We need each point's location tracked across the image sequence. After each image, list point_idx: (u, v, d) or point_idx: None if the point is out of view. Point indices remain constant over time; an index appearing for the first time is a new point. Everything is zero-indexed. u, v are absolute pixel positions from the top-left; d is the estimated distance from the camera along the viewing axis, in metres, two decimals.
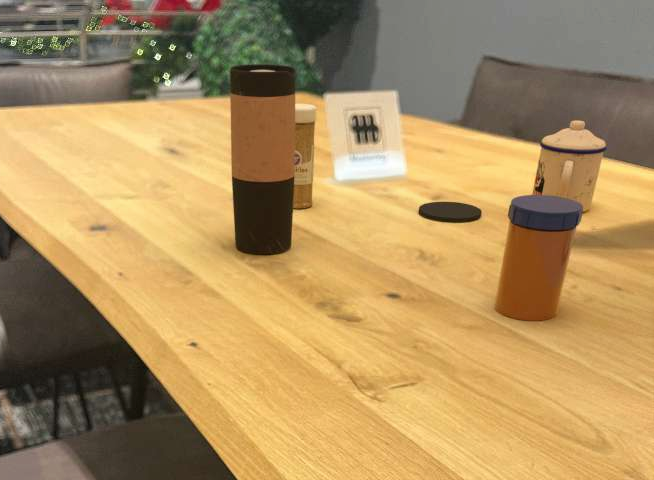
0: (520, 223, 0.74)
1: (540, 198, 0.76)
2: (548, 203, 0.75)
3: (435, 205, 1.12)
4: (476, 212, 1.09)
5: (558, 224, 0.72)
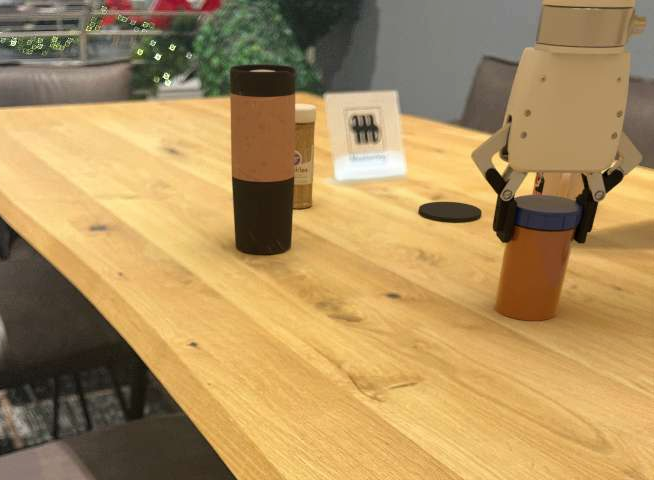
0: (520, 223, 0.74)
1: (540, 198, 0.76)
2: (548, 203, 0.75)
3: (435, 205, 1.12)
4: (476, 212, 1.09)
5: (558, 224, 0.72)
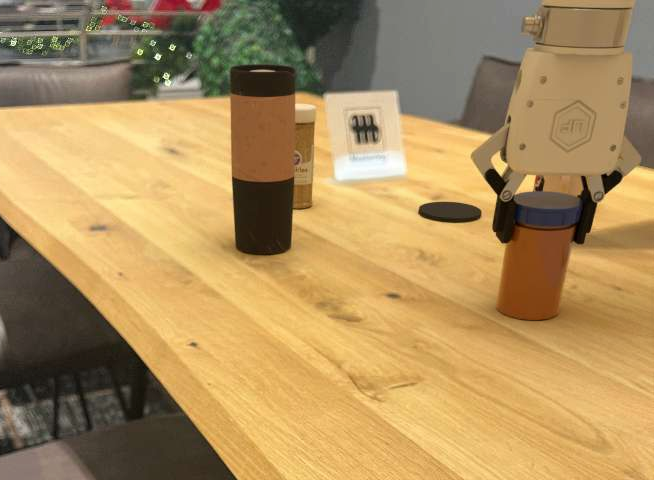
0: None
1: (553, 205, 0.73)
2: (545, 200, 0.74)
3: (435, 205, 1.12)
4: (476, 212, 1.09)
5: None
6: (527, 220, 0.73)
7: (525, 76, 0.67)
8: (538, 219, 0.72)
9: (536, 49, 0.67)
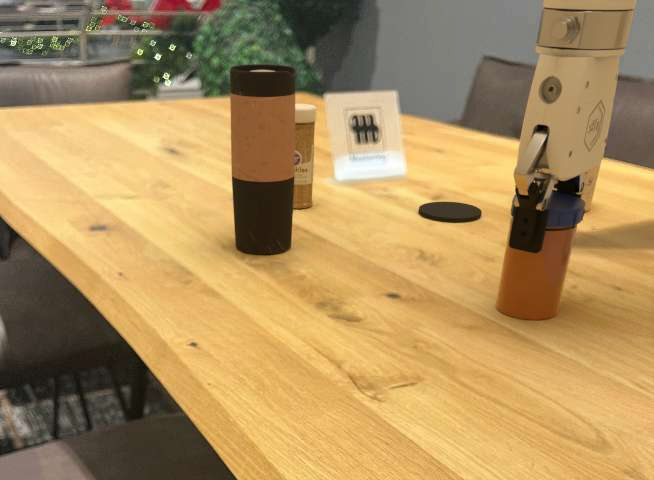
0: (551, 224, 0.73)
1: None
2: (549, 199, 0.74)
3: (435, 205, 1.12)
4: (476, 212, 1.09)
5: (581, 217, 0.73)
6: None
7: (570, 83, 0.64)
8: None
9: (564, 54, 0.65)
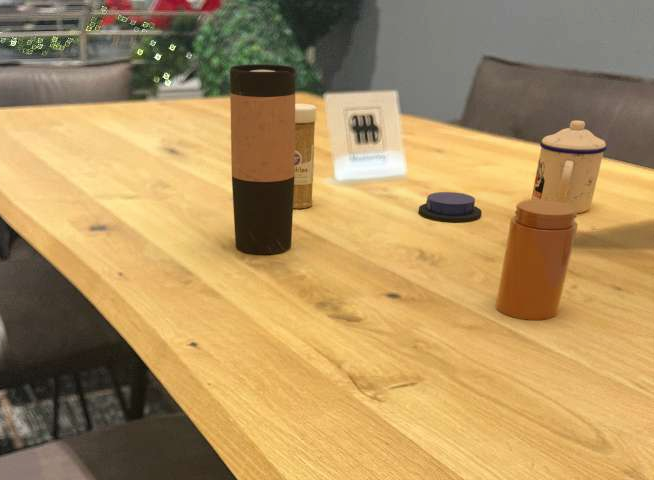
0: (447, 214, 1.08)
1: (440, 195, 1.11)
2: (451, 197, 1.10)
3: None
4: (476, 212, 1.09)
5: (470, 210, 1.08)
6: None
7: None
8: None
9: None
